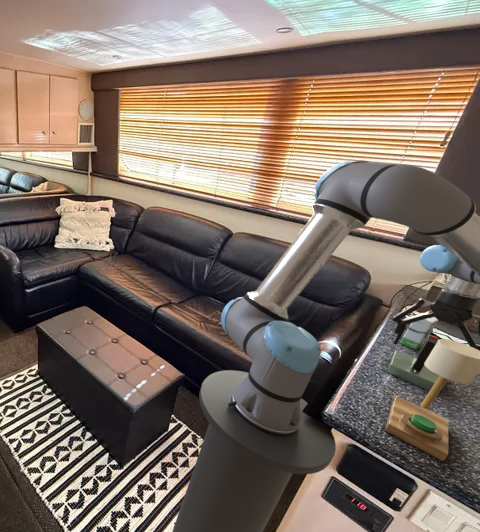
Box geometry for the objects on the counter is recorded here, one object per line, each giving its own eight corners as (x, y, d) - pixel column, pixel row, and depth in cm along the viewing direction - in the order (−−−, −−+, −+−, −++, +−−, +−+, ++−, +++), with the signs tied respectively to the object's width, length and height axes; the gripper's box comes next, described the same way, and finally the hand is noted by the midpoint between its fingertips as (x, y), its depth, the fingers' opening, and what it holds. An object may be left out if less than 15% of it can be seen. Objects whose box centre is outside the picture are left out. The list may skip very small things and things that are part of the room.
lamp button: (432, 436, 72) (436, 431, 72) (409, 424, 75) (412, 419, 74) (433, 428, 75) (437, 422, 74) (410, 417, 78) (413, 411, 77)
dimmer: (435, 393, 93) (441, 385, 92) (386, 372, 101) (391, 364, 99) (436, 375, 102) (441, 367, 101) (391, 356, 110) (396, 349, 108)
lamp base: (443, 461, 71) (452, 448, 69) (384, 430, 77) (392, 418, 76) (444, 426, 81) (452, 414, 79) (392, 401, 88) (399, 390, 86)
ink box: (416, 350, 115) (433, 322, 111) (399, 343, 119) (414, 315, 115) (424, 345, 120) (440, 318, 116) (406, 338, 124) (422, 311, 119)
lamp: (414, 413, 78) (453, 353, 72) (396, 391, 86) (430, 335, 79) (455, 424, 76) (499, 363, 70) (432, 401, 83) (470, 344, 77)
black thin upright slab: (420, 371, 98) (437, 343, 94) (411, 367, 99) (428, 340, 95) (421, 364, 101) (438, 337, 98) (413, 360, 103) (429, 334, 99)
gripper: (529, 308, 85) (484, 371, 93) (403, 274, 102) (374, 331, 109) (534, 315, 80) (486, 382, 88) (401, 279, 97) (371, 338, 105)
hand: (424, 354), depth 99 cm, fingers open, 13 cm apart
